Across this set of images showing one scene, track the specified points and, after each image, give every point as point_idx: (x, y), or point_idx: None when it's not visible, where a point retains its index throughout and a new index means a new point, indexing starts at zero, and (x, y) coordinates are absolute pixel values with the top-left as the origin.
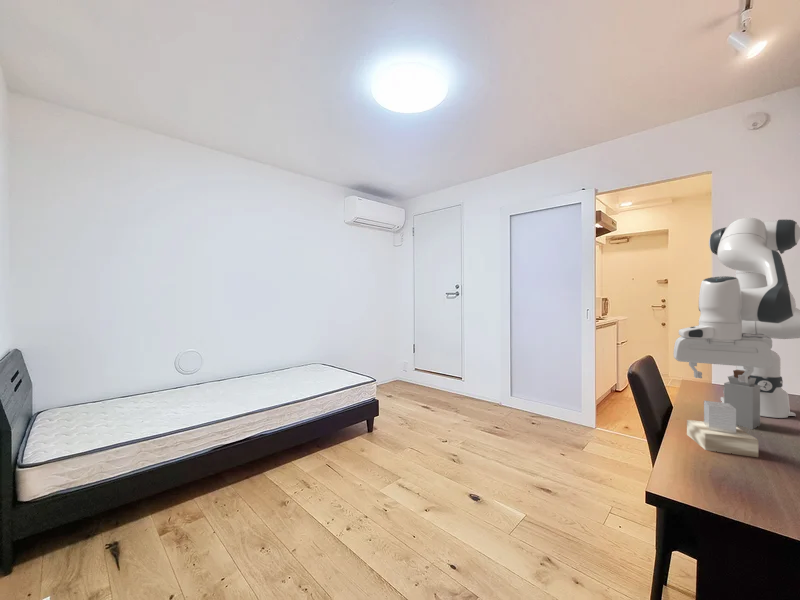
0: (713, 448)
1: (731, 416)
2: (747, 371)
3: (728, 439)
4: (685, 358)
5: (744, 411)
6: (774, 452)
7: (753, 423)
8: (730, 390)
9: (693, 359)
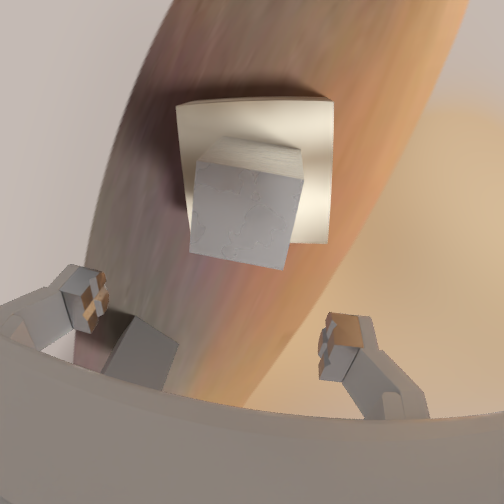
0: (305, 97)
1: (222, 154)
2: (29, 323)
3: (262, 99)
4: (494, 440)
5: (133, 353)
6: (139, 163)
7: (128, 327)
8: None
9: (439, 445)
